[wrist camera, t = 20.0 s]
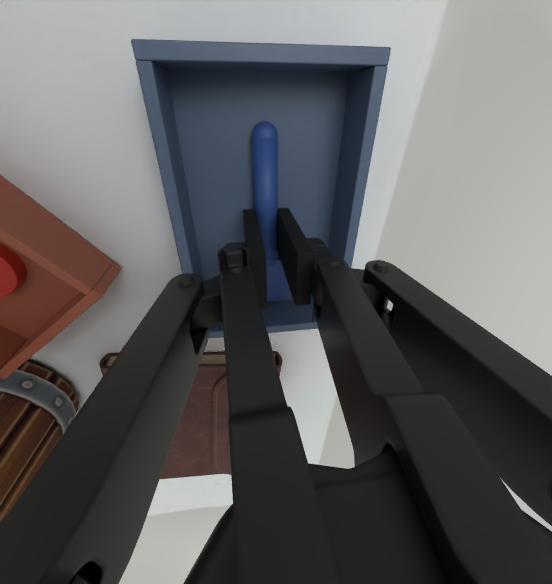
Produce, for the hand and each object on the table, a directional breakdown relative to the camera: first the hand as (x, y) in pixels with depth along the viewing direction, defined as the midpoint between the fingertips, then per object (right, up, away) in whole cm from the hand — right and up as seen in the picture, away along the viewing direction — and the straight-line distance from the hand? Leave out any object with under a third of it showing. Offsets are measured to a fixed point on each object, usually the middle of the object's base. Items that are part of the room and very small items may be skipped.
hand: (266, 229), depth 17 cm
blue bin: (0, +1, 0) cm, 1 cm away
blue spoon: (0, 0, 0) cm, 1 cm away
